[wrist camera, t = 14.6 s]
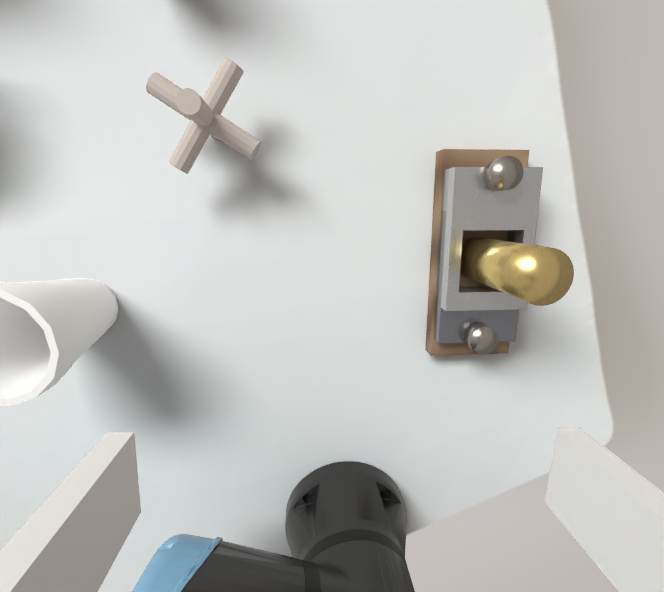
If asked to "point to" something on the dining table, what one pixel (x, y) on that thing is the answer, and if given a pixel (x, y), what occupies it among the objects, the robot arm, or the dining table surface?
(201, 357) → the dining table surface
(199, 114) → the pipe connector
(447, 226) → the grey slotted fixture
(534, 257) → the brass pin
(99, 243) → the dining table surface
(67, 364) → the foam cup
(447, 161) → the walnut board
